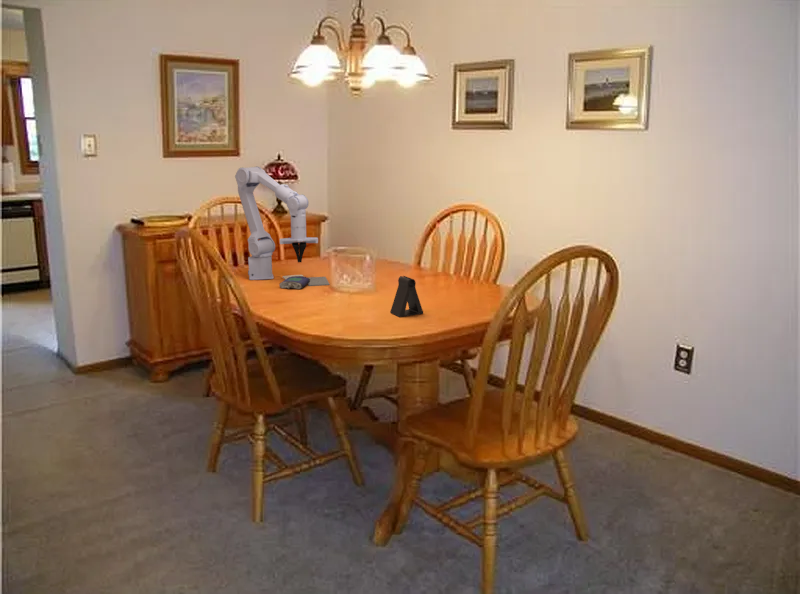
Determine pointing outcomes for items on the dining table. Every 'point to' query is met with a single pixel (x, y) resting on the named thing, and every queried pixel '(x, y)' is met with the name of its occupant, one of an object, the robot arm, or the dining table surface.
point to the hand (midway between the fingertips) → (299, 262)
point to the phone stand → (406, 298)
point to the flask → (295, 282)
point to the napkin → (290, 276)
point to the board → (318, 281)
